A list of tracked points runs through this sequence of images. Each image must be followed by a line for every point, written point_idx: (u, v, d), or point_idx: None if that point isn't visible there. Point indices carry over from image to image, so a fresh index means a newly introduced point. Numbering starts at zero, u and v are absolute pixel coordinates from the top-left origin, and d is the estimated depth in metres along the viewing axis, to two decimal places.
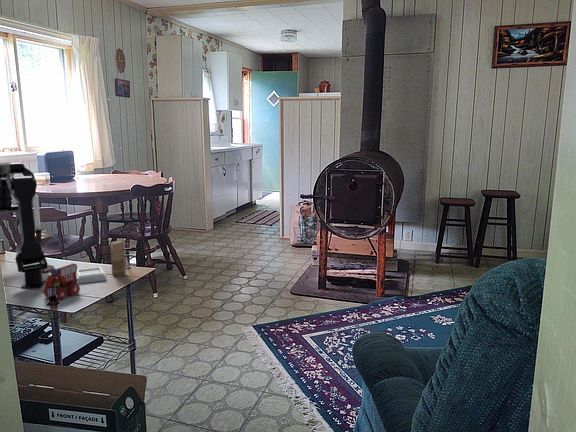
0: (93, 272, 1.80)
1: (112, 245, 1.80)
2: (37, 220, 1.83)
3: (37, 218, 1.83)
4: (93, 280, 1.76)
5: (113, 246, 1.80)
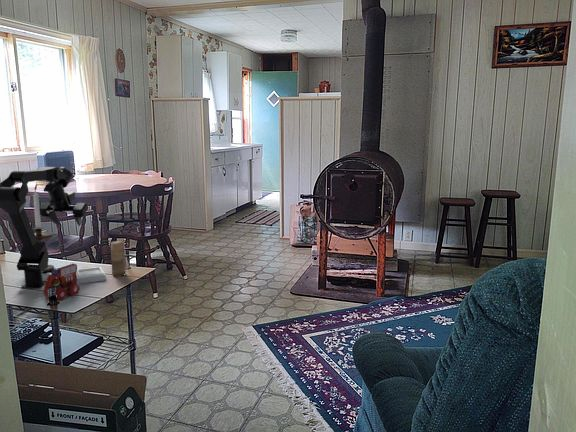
0: (93, 272, 1.80)
1: (112, 245, 1.80)
2: (37, 219, 1.84)
3: (37, 217, 1.84)
4: (93, 280, 1.76)
5: (113, 246, 1.80)
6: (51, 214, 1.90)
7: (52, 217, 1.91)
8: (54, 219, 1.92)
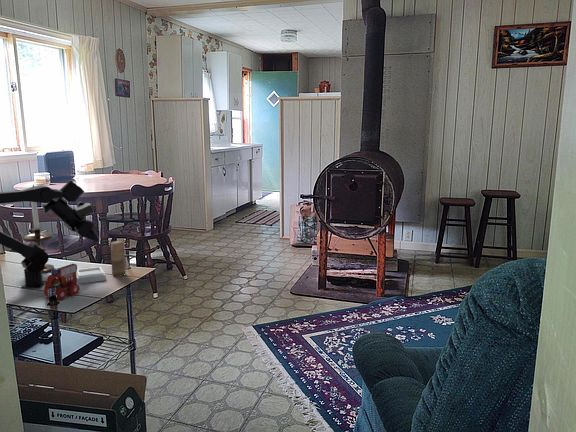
0: (93, 272, 1.80)
1: (112, 245, 1.80)
2: (35, 220, 1.83)
3: (35, 218, 1.83)
4: (93, 280, 1.76)
5: (113, 246, 1.80)
6: None
7: None
8: None
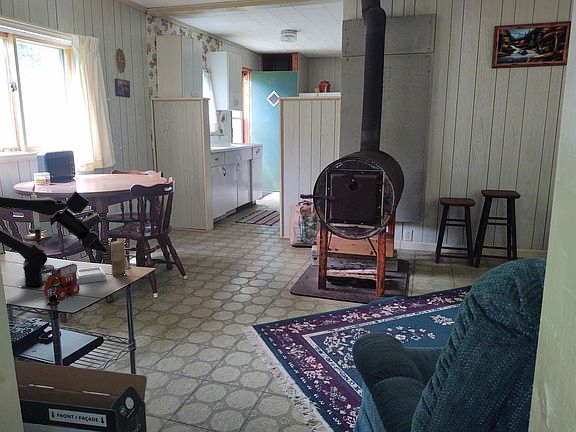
0: (93, 272, 1.80)
1: (112, 245, 1.80)
2: (36, 220, 1.83)
3: (36, 218, 1.83)
4: (93, 280, 1.76)
5: (113, 246, 1.80)
6: None
7: None
8: None
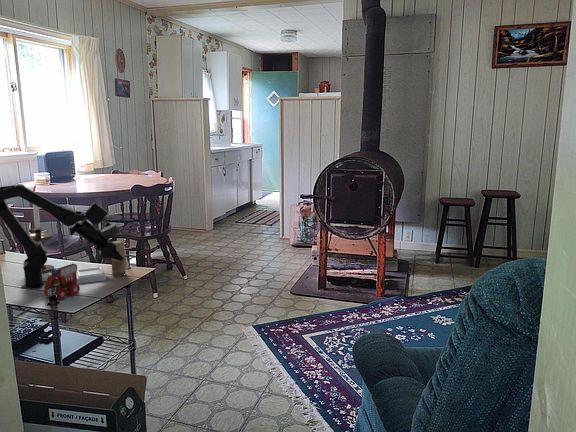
0: (93, 272, 1.80)
1: None
2: (37, 220, 1.83)
3: (37, 218, 1.83)
4: (93, 280, 1.76)
5: None
6: None
7: None
8: None
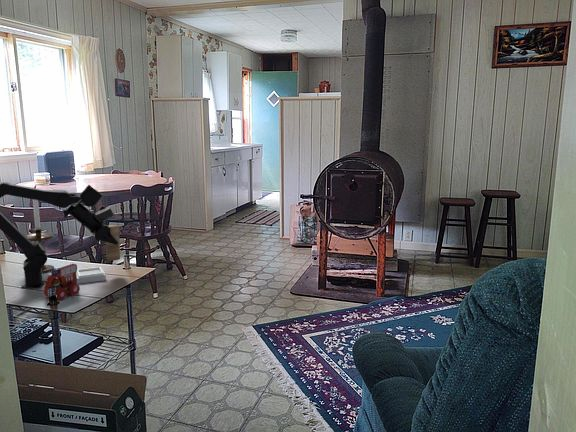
0: (93, 272, 1.80)
1: None
2: (37, 220, 1.83)
3: (37, 218, 1.83)
4: (93, 280, 1.76)
5: None
6: None
7: None
8: None
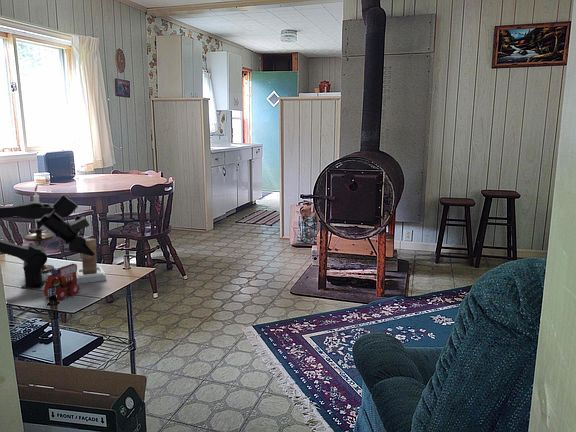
0: None
1: None
2: None
3: None
4: (93, 280, 1.76)
5: None
6: None
7: None
8: None
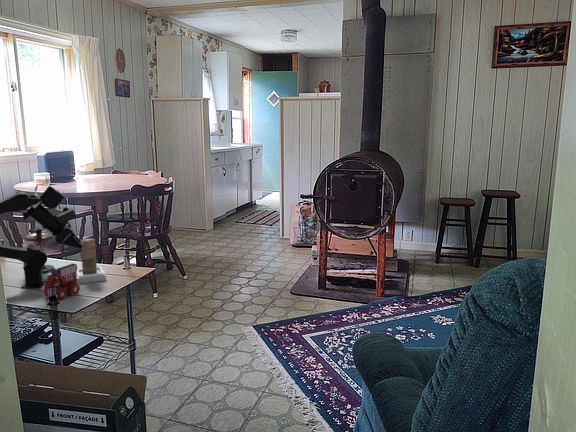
0: None
1: (82, 243, 1.75)
2: None
3: None
4: (93, 280, 1.76)
5: (83, 243, 1.75)
6: None
7: None
8: None
